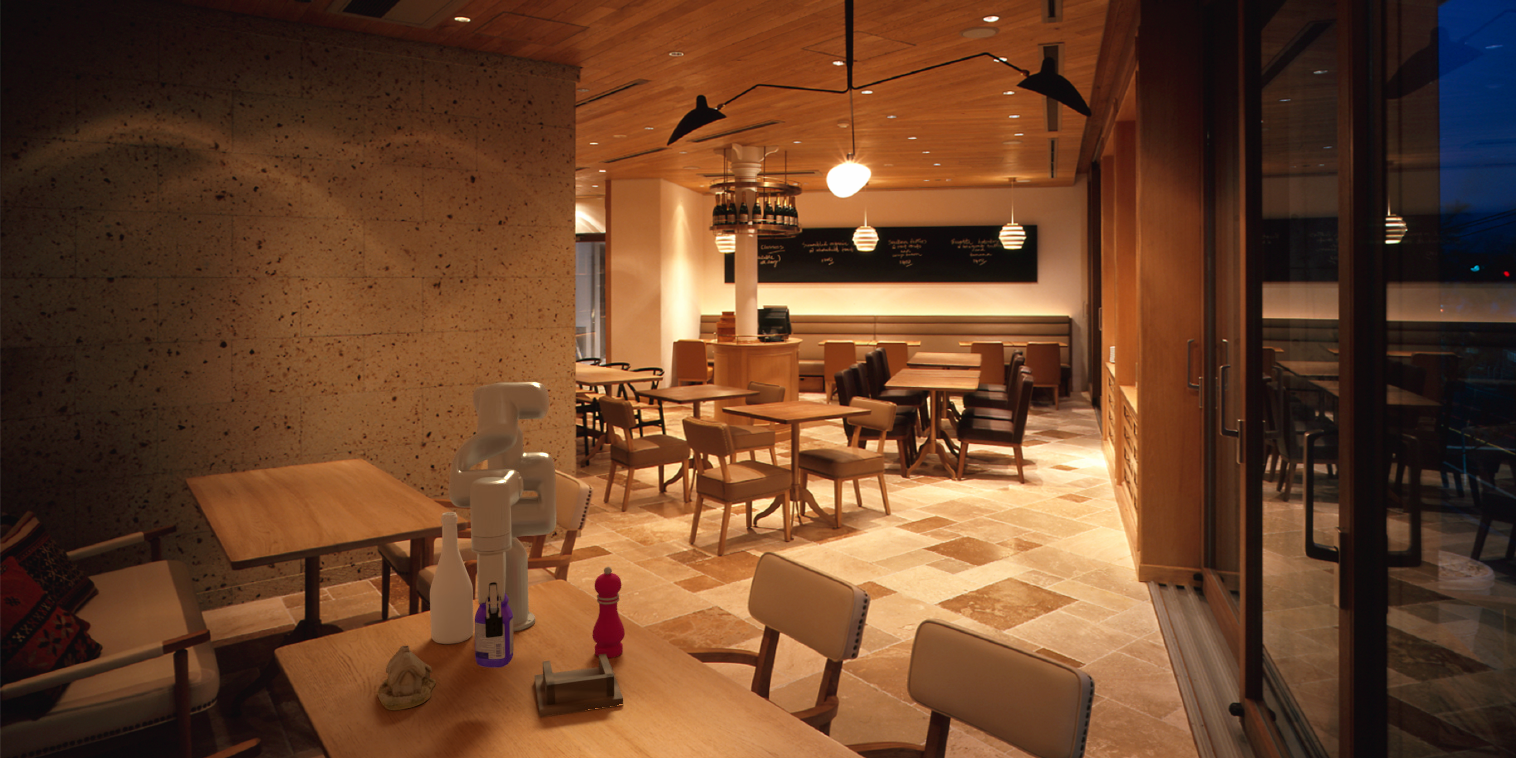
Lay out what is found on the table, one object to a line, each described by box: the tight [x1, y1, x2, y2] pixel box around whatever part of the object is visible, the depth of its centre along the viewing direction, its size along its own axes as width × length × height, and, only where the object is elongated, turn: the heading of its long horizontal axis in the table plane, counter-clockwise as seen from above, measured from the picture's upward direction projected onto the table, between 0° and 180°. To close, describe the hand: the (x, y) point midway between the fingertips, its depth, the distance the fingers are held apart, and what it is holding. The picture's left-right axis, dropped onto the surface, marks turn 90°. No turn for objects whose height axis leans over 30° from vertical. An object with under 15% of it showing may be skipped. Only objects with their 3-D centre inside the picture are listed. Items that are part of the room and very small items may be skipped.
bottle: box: [474, 583, 514, 669], centre depth 169 cm, size 7×6×17 cm
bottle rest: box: [534, 654, 624, 718], centre depth 174 cm, size 16×16×6 cm
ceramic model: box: [376, 645, 436, 711], centre depth 174 cm, size 14×11×10 cm
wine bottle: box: [429, 511, 475, 645], centre depth 202 cm, size 10×10×30 cm
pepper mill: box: [592, 566, 626, 659], centre depth 194 cm, size 7×7×20 cm
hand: (494, 628), depth 169 cm, fingers closed on bottle, 6 cm apart
